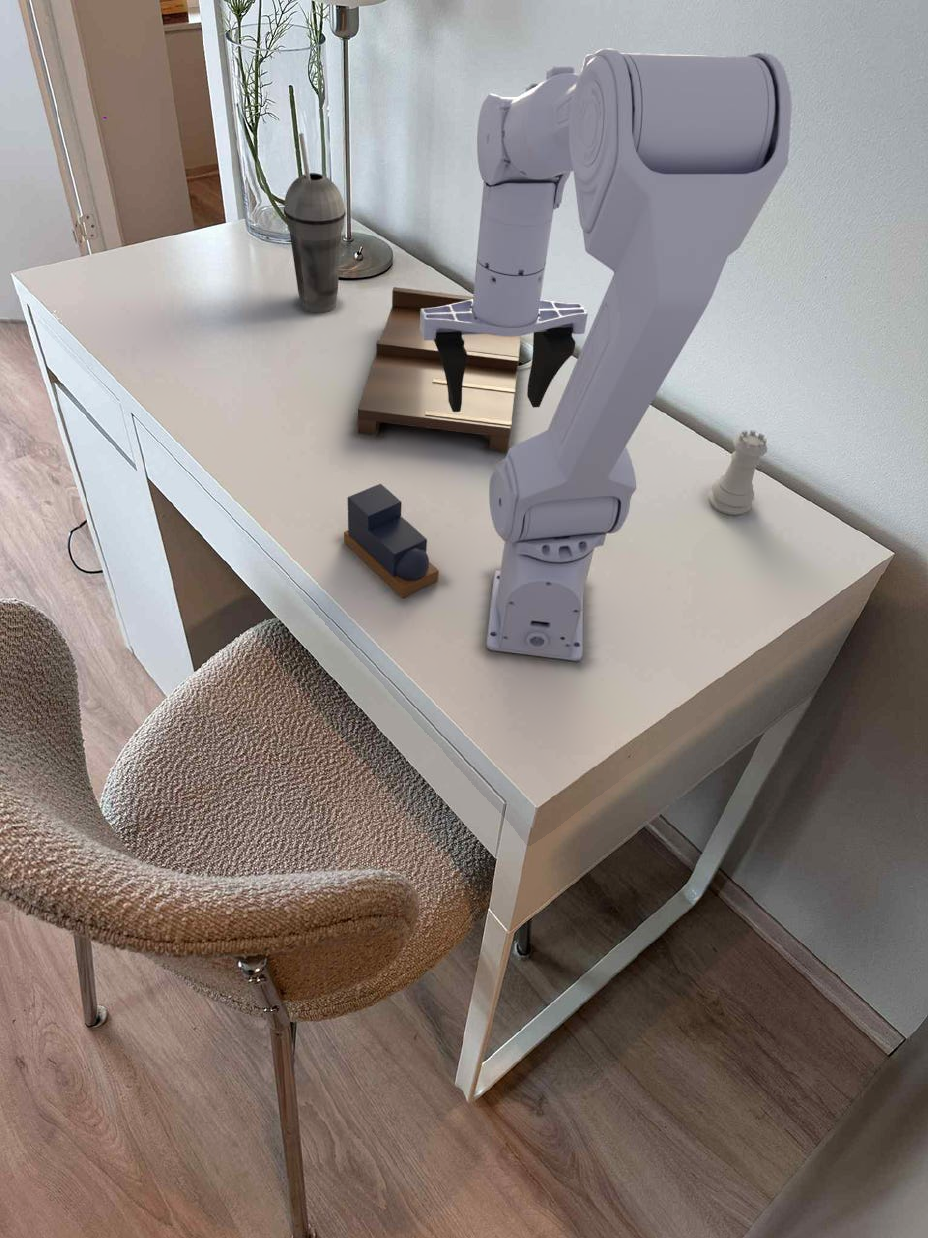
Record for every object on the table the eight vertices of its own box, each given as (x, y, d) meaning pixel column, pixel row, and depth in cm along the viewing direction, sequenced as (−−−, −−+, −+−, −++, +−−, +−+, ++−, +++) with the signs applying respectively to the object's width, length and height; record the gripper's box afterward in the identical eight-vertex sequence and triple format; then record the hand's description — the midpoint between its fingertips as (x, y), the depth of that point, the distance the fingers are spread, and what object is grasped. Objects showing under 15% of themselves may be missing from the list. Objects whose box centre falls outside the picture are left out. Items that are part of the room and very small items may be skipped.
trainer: (438, 581, 79) (442, 534, 75) (402, 599, 77) (404, 552, 73) (379, 526, 84) (379, 479, 80) (343, 541, 82) (342, 495, 78)
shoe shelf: (507, 452, 93) (513, 411, 90) (357, 433, 94) (357, 392, 90) (520, 340, 110) (525, 302, 107) (392, 325, 110) (393, 286, 107)
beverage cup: (354, 314, 111) (352, 143, 97) (297, 320, 109) (287, 146, 95) (338, 288, 116) (334, 120, 102) (283, 293, 114) (271, 123, 99)
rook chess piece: (698, 493, 91) (721, 427, 85) (735, 486, 92) (759, 421, 87) (722, 520, 88) (746, 454, 83) (759, 513, 90) (786, 447, 84)
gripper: (579, 238, 77) (555, 377, 87) (415, 241, 74) (410, 384, 84) (605, 275, 73) (577, 417, 82) (432, 279, 70) (424, 426, 79)
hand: (494, 403), depth 83 cm, fingers open, 7 cm apart
